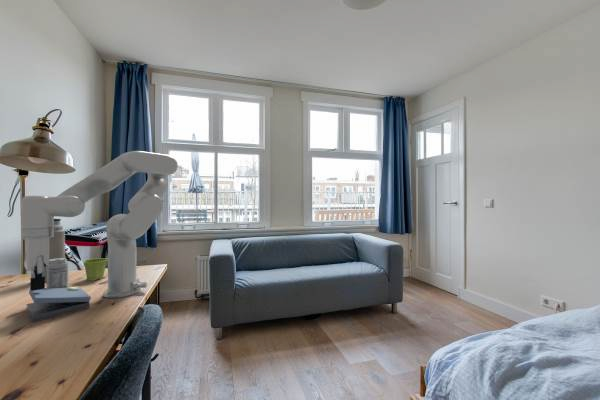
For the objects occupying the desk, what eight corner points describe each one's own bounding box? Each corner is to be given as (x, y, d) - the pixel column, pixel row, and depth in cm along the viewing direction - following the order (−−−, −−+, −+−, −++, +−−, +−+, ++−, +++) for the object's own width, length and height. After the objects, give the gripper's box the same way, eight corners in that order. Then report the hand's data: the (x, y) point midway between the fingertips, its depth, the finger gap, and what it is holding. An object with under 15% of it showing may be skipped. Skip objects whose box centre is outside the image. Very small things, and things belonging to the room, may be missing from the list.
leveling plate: (79, 292, 100) (81, 286, 100) (89, 301, 91) (91, 295, 92) (28, 292, 89) (31, 286, 90) (34, 303, 81) (36, 296, 81)
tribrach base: (79, 297, 100) (79, 292, 100) (89, 307, 91) (89, 302, 91) (26, 309, 89) (26, 304, 89) (32, 322, 80) (32, 316, 80)
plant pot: (88, 276, 127) (88, 258, 127) (110, 275, 130) (111, 257, 130) (78, 282, 118) (78, 263, 118) (103, 280, 121) (103, 261, 121)
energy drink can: (69, 294, 103) (69, 256, 103) (67, 299, 98) (67, 259, 98) (47, 298, 99) (47, 258, 99) (45, 303, 95) (45, 262, 94)
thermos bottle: (40, 278, 123) (40, 218, 122) (63, 275, 129) (63, 217, 129) (42, 282, 118) (42, 219, 117) (66, 278, 124) (66, 218, 123)
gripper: (19, 232, 88) (18, 287, 88) (23, 236, 78) (23, 298, 78) (49, 230, 94) (49, 281, 94) (57, 234, 84) (57, 291, 84)
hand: (37, 289), depth 86 cm, fingers closed
